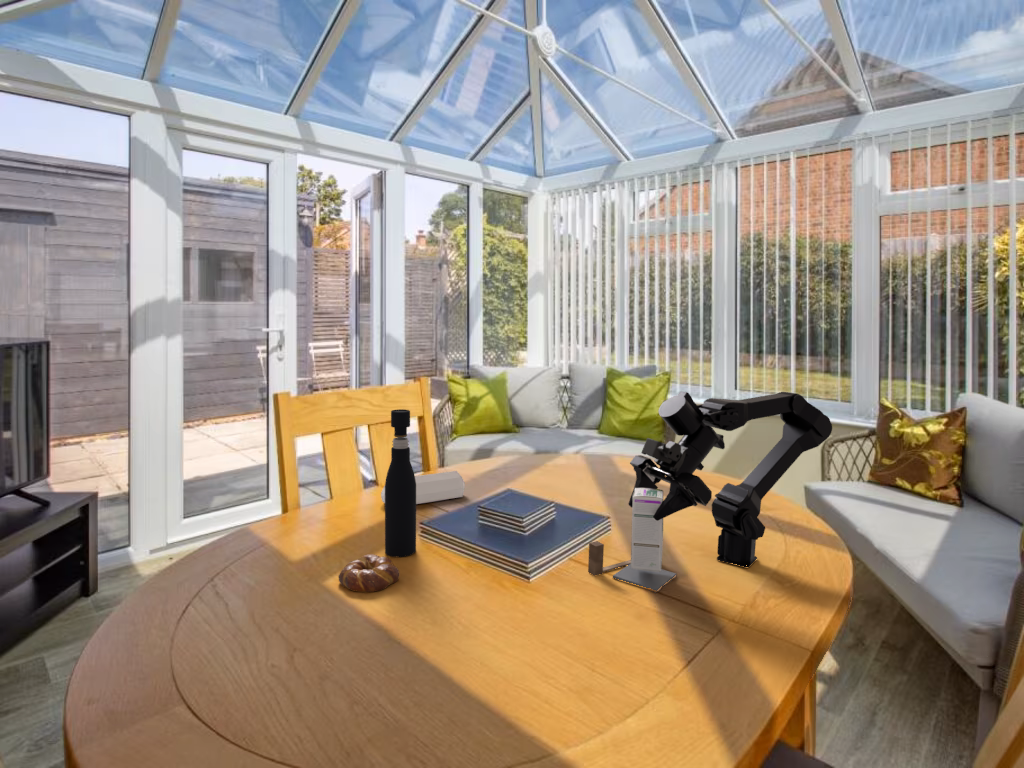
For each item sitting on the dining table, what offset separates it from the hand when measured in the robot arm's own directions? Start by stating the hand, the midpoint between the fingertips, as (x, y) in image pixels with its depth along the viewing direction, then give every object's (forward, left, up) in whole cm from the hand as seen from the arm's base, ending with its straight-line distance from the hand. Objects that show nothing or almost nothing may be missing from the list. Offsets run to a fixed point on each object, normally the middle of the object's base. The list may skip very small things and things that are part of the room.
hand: (642, 512), depth 112 cm
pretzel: (+39, +34, -14) cm, 53 cm away
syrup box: (-1, -1, -11) cm, 11 cm away
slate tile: (-1, -1, -13) cm, 13 cm away
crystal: (+67, -6, -14) cm, 68 cm away
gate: (+5, -3, -13) cm, 15 cm away
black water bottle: (+44, +21, -13) cm, 51 cm away
